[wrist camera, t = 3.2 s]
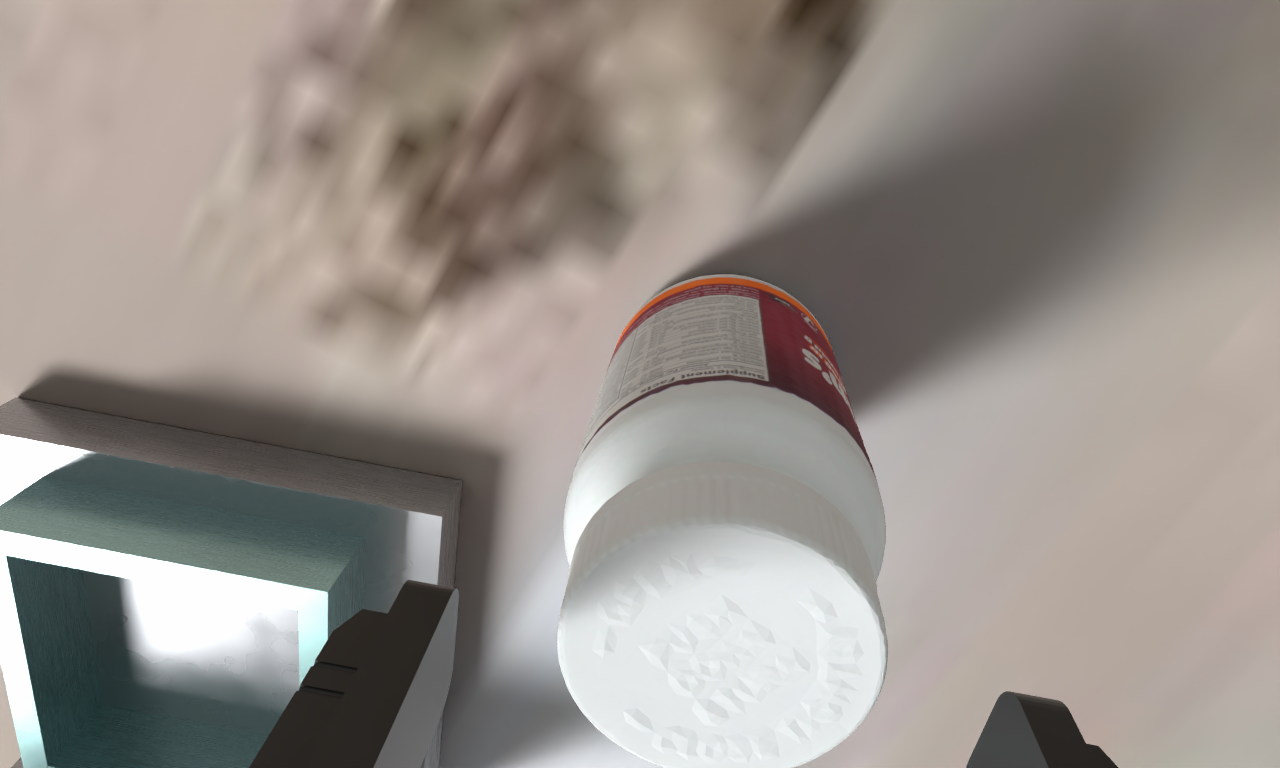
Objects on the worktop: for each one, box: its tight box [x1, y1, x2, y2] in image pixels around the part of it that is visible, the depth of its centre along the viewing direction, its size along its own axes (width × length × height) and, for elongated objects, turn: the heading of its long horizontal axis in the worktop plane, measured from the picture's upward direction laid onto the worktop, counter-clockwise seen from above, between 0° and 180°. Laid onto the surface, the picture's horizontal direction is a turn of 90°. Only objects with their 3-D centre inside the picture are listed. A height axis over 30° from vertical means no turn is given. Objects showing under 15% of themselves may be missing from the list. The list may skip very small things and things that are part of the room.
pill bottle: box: [557, 274, 888, 768], centre depth 18 cm, size 6×6×11 cm
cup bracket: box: [0, 398, 462, 768], centre depth 23 cm, size 14×14×10 cm
